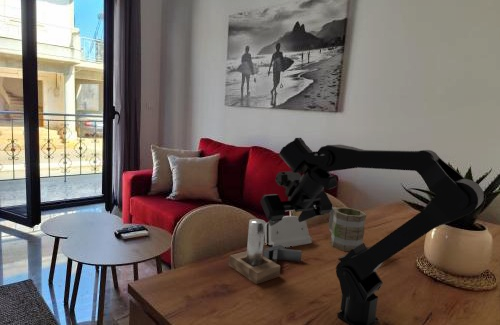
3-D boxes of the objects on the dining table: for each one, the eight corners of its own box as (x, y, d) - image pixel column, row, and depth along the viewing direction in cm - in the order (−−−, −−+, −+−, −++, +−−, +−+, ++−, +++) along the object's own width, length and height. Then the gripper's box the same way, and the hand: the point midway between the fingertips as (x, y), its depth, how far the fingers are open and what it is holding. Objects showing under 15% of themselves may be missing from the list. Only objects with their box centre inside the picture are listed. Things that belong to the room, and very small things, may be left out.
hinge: (273, 249, 107) (269, 218, 109) (265, 249, 111) (261, 218, 113) (313, 242, 116) (309, 213, 117) (304, 242, 120) (300, 214, 121)
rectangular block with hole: (279, 276, 89) (280, 265, 89) (256, 284, 84) (257, 273, 84) (251, 259, 99) (252, 249, 98) (228, 265, 94) (229, 255, 93)
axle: (264, 272, 91) (269, 222, 89) (252, 276, 88) (256, 225, 86) (254, 266, 95) (258, 218, 93) (242, 269, 92) (245, 220, 90)
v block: (302, 261, 100) (303, 251, 100) (273, 270, 93) (274, 260, 92) (285, 252, 106) (286, 243, 105) (256, 260, 98) (257, 250, 98)
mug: (369, 250, 112) (373, 216, 111) (342, 253, 108) (346, 217, 107) (340, 234, 127) (343, 203, 125) (315, 235, 123) (319, 204, 121)
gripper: (326, 160, 89) (301, 195, 99) (263, 162, 80) (244, 200, 91) (346, 193, 82) (317, 228, 92) (280, 200, 74) (257, 236, 84)
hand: (284, 222), depth 90 cm, fingers open, 9 cm apart
